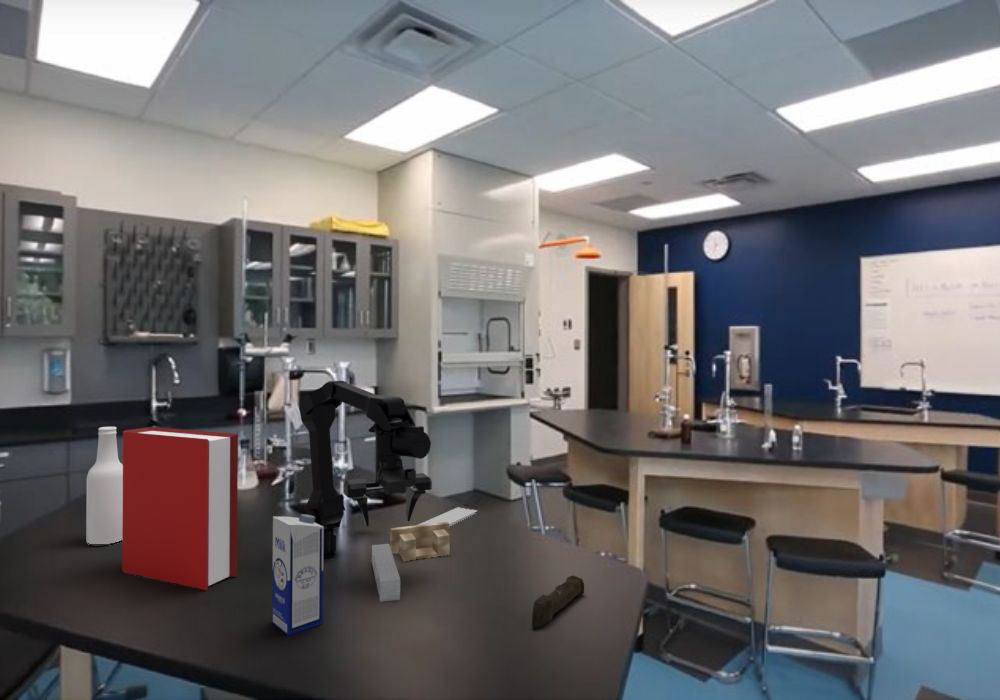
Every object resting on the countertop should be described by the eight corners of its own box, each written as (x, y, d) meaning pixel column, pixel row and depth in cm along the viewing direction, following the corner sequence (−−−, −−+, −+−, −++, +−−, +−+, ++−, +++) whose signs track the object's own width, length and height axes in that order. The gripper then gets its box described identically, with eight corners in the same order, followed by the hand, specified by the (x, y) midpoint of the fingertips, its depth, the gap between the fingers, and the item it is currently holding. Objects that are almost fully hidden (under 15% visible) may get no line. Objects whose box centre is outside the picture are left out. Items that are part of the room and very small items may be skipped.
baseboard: (389, 537, 157) (419, 544, 152) (389, 527, 156) (419, 533, 152) (451, 510, 183) (477, 515, 178) (451, 501, 183) (478, 506, 178)
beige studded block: (396, 562, 137) (396, 537, 137) (390, 552, 144) (390, 528, 144) (456, 554, 142) (456, 530, 142) (447, 544, 149) (447, 521, 149)
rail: (380, 603, 116) (380, 581, 116) (371, 564, 137) (371, 545, 137) (400, 601, 117) (400, 579, 117) (388, 562, 138) (388, 543, 138)
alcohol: (134, 536, 154) (135, 425, 154) (109, 548, 145) (110, 430, 145) (104, 535, 155) (105, 424, 155) (77, 546, 146) (78, 429, 146)
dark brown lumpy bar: (568, 591, 122) (567, 569, 122) (585, 596, 119) (584, 574, 119) (519, 627, 106) (519, 602, 106) (538, 633, 104) (538, 607, 104)
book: (236, 577, 127) (237, 433, 127) (206, 591, 120) (207, 439, 120) (150, 559, 138) (151, 426, 137) (118, 571, 130) (118, 431, 130)
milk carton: (271, 622, 107) (272, 515, 107) (306, 610, 111) (306, 508, 111) (288, 636, 102) (289, 523, 102) (323, 623, 106) (324, 516, 106)
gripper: (352, 463, 116) (352, 540, 116) (439, 456, 124) (439, 528, 124) (343, 454, 126) (342, 524, 126) (424, 448, 134) (424, 515, 134)
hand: (387, 523), depth 127 cm, fingers open, 9 cm apart
